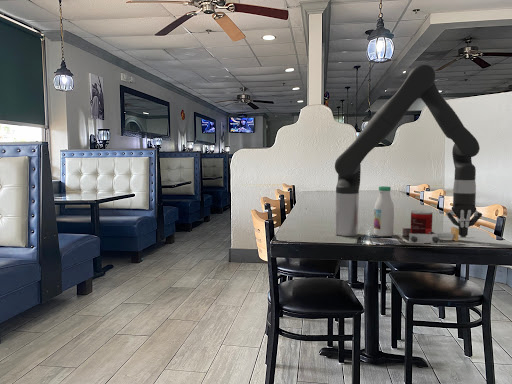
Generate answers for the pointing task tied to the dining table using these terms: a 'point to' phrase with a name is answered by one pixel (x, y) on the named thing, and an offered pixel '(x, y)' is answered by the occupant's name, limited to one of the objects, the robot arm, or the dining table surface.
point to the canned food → (421, 222)
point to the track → (440, 243)
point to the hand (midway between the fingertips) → (462, 236)
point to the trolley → (431, 235)
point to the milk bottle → (384, 213)
